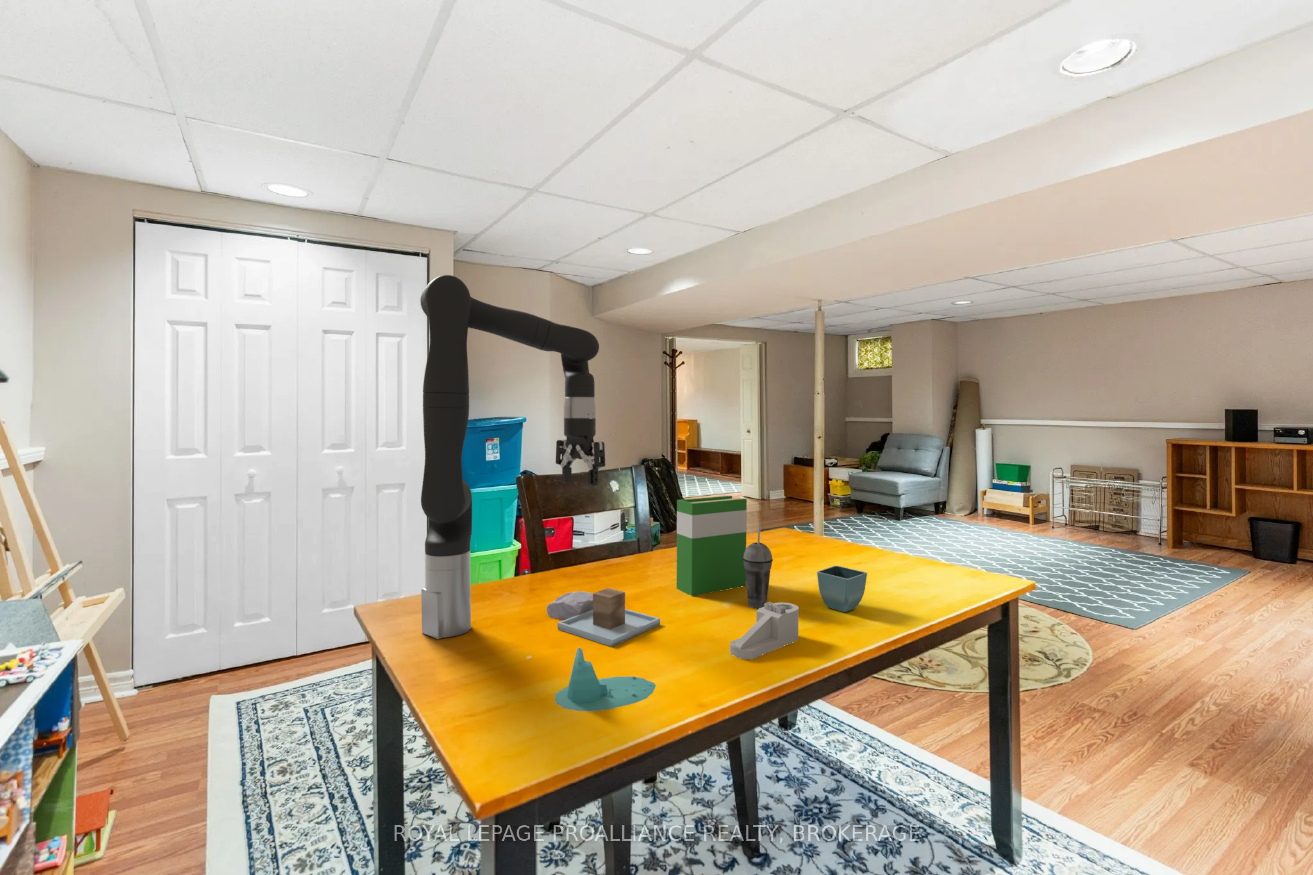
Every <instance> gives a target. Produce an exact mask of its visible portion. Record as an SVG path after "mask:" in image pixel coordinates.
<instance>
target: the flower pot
mask: <svg viewBox="0 0 1313 875" xmlns="http://www.w3.org/2000/svg"><path fill="white" fill-rule="evenodd" d="M816 577H817V582H818V583H817V584H818V590H819V594H820V598H821V600H822V601H823V603H824V605H825V607H826V608H829V609H833V610H835V611H839V612H843V613H848V612H850V611H851V610H854V609H857V607H858V606H859V604H860V603H861V602H862V599H863V597H864V594H865V590H866V584H867V577H868V572H866V571H862V570H858V569H854V568H853V569H852V568H848V567H844V566H840V565H832V566H830V567H827V568H824V569H821V570H817V571H816Z"/></svg>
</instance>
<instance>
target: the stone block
mask: <svg viewBox="0 0 1313 875" xmlns="http://www.w3.org/2000/svg"><path fill="white" fill-rule="evenodd" d="M590 610H593V593H592V592H588V591H583V590H582V591H579V590H578V591H571V592H566V593H563V594H562V595H560V596H558V597H557V598H555V600H554V601H552V602H551V603H548V604H547V606H546V613H547V615H548V617H549V618H551V619H553V618H554V619H559V620H566V619H569V618H571V617H574V616H577V615H579V614H582V613H585V612H587V611H590Z"/></svg>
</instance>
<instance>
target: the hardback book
mask: <svg viewBox="0 0 1313 875" xmlns="http://www.w3.org/2000/svg"><path fill="white" fill-rule="evenodd" d="M747 502H748V501H747V498H736V499H734V498H733V496H732V495H723V496H722V495H721V496H710V497H698V498H697V497H696V498H695V497H694V498H685V499H677V500H676V589H677V590H678V591H681V592H682V593H684V594H687V595H688V596H690V595H691V597H694V596H693V595H695V596H700V594H701V595H705V594H711V593H710V592H712V593H716V592H721V591H720V590H723V591H727V590H726V589H729V590H731V589H730V588H734V589H738V588H737V587H740V588H742V587H741V586H745V587H746V575H745V567H744V560H743V557H744V552H745V550H746V548H747V518H748V517H747V509H748V508H747V505H748V504H747Z"/></svg>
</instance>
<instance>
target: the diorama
mask: <svg viewBox="0 0 1313 875" xmlns="http://www.w3.org/2000/svg"><path fill="white" fill-rule="evenodd" d="M656 688H657V685H656V683H654V682H653V681H650V680H648V679H646V678H644V677H638V676H635V675H633V676H610V677H605V678H598V677H597V674H596V671H595V669H594V666H593V664H592V661H589V660H585V656H584V652H583V648H582V647H578V648H576V652H575V656H574V661H573V664H572V670H571V673H570V678H569V681H568V686H566V687H564V688H562V689H560V690H559V691H557V692H555V693H554V701H555V703H556V705H557V706H559V707H561V708H563V709H567V710H570V711H571V710H572V711H578V712H596V711H597V712H598V711H605V710H606V711H607V710H613V709H615V708H616V709H617V708H620V707H625V706H629V705H632V704H633V705H634V704H636V703H639V702H641V701H644V700H647V699H648V698H649V697H650V696H651V695H652V694H653V693H654V691H655V690H656Z"/></svg>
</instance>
